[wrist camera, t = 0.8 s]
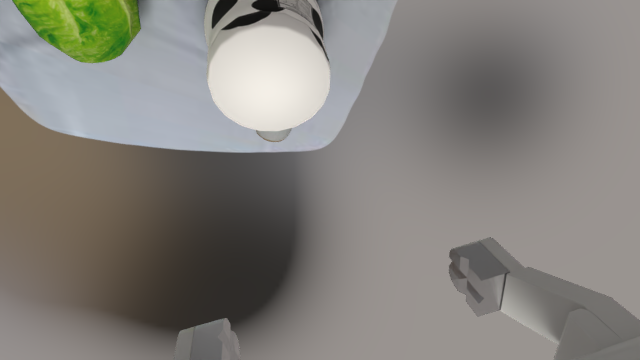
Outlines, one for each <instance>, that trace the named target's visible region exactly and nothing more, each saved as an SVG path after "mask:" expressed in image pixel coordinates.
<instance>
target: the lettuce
mask: <svg viewBox="0 0 640 360" xmlns="http://www.w3.org/2000/svg"><path fill="white" fill-rule="evenodd" d="M12 1H13V2H14V4H15V5H16V7H17V8H18V10H19V11H20V12H21V14H22V15H23V16H24V17H25V19H26V20H27V21H28V22H29V24H30V25H31V26H32V27H33V29H34V30H35V31H36V32H37V34H38V35H39V36H40V37H41V38H43V39H44V40H45V41H47V42H48V43H49V44H51V45H53V46H54V47H56V48H57V49H59V50H60V51H62V52H64V53H65V54H67V55H68V56H70V57H72V58H73V59H75V60H78V61H80V62H86V63H99V62H105V61H109V60H112V59H115V58H116V57H118V56H120V55H121V54H122V53H123V52H124V51H125V49H126V48H127V47H128V45H129V44H130V43H131V41H132V40H133V39H134V37H135V36H136V35H137V33H138V32H139V31H140V29H141V27H140V19H139V11H138V3H137V0H12Z"/></svg>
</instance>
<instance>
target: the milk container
mask: <svg viewBox="0 0 640 360" xmlns="http://www.w3.org/2000/svg"><path fill="white" fill-rule="evenodd" d="M204 31H205V38H206V42H207V45H208V57H207V61H208V65H207V82H208V85H209V88H210V91H211V94H212V97H213V100H214V103H215V104H216V105H217V106H218V107H219V109H220V110H221V111H222V112H223V113H224V115H225V116H226V117H228V118H230V119H231V120H233V121H234V122H236V123H238V124H239V125H241V126H243V127H247V128H251V129H254V130H258V131H281V130H285V129H289V128H293V127H296V126H298V125H300V124H302V123H303V122H305V121H307V120H309V119H311V118H312V117H313V116H314V115H315V113H316V112H317V111H318V110H319V109H320V108H321V107H322V106H323V104H324V102H325V100H326V97H327V95H328V93H329V90H330V63H329V59H328V57H327V52H326V48H325V45H324V42H323V37H324V27H323V19H322V15H321V12H320V9H319V6H318V4H317V2H316V0H208V3H207V6H206V10H205V17H204Z"/></svg>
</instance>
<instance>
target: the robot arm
mask: <svg viewBox="0 0 640 360" xmlns="http://www.w3.org/2000/svg"><path fill="white" fill-rule="evenodd" d="M449 257H450V259H451V260H452V262H451V264H450V265H449V274H450V277H451V280H452V282H453V284H454V286H455V287H456V289H457V290H458V291H459V292H461V293H463V294H465V295H466V302H467V303H468V305H469V306H470V307H471V309H472V310H473V311H474V313H475V314H476V315H477V316H481V315H485V314H488V313H492V312H495V311H498V310H501V312H503V313H505V314H506V315H508V316H510V317H512V318H513V319H515V320H516V321H518V322H520V323H522V324H523V325H525V326H527V327H528V328H530V329H532V330H534V331H535V332H537V333H539V334H540V335H542V336H544V337H545V338H547V339H549V340H551V341H552V342H554V343H556V344H558V347H557V350H556V353H555V356H554V360H640V320H639V319H637V318H636V317H635V316H634V315H632V314H631V313H630V312H629V311H627V310H626V309H625V308H624V307H622V306H621V305H620V304H619V303H618V302H616V301H615V300H614V299H613V298H611V297H609V296H606V295H604V294H601V293H598V292H595V291H593V290H590V289H587V288H585V287H582V286H579V285H576V284H574V283H571V282H569V281H566V280H563V279H560V278H558V277H555V276H552V275H550V274H547V273H544V272H541V271H539V270H536V269H533V268H531V267H527V268H524V267H523V266H522V265H521V264H520V263H519V262H518V261H517V260H516V259H515V258H514V257H513V256H511V254H510V253H508V252H507V251H506V250H505V249H504V248H503V247H502V246H501V245H500V244H499V243H498V242H497V241H496V240H494V239H493V238H491V237H489V238H486V239H483V240H479V241H477V242H472V243H469V244H466V245H463V246H460V247H456V248H453V249H451V250H450V254H449ZM174 360H240V348H239V342H238V339H237V336H236V334H235V332H233V331H231V330H230V323H229V321H228V319H227V318H224V319H221V320H217V321H213V322H210V323H206V324H203V325H199V326H196V327H192V328H189V329H185V330H182V331H180V333H179V335H178V339H177V344H176V350H175V355H174Z"/></svg>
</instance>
